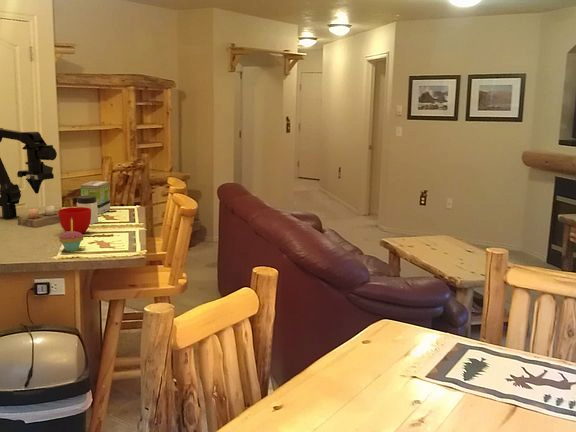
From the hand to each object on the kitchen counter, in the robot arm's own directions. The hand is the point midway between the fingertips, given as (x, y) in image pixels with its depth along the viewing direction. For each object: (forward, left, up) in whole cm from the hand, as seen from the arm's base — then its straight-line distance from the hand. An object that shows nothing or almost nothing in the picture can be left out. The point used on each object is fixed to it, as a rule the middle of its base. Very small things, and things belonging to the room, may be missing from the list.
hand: (36, 193), depth 276 cm
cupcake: (+58, -29, -13) cm, 66 cm away
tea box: (+7, +28, -13) cm, 32 cm away
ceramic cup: (+35, -9, -13) cm, 38 cm away
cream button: (+7, +1, -10) cm, 12 cm away
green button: (+7, +10, -12) cm, 17 cm away
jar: (+24, +8, -13) cm, 28 cm away
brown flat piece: (+7, +1, -12) cm, 14 cm away
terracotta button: (+7, -8, -10) cm, 14 cm away
